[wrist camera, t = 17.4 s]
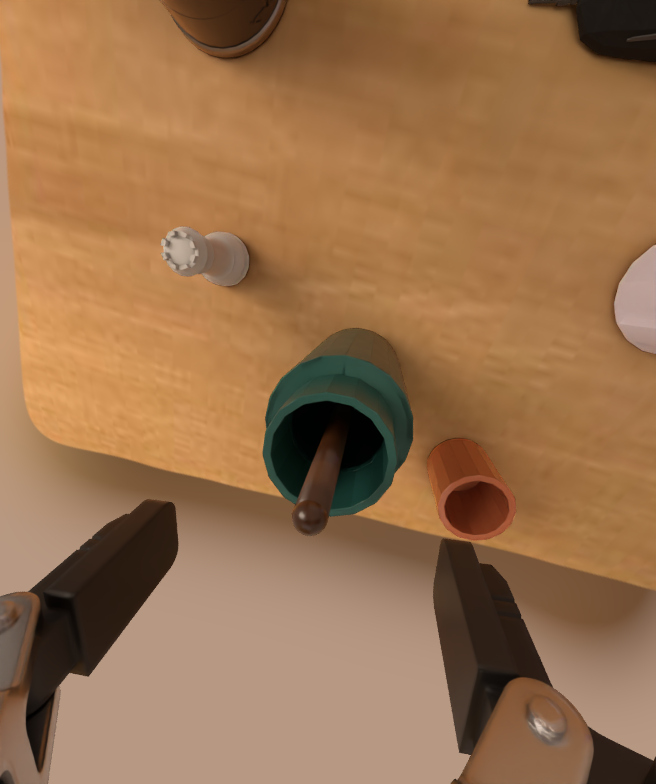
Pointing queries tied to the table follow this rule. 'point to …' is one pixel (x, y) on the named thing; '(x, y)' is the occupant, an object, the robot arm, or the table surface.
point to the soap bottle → (638, 302)
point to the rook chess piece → (206, 255)
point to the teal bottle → (367, 427)
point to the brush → (323, 475)
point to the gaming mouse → (616, 26)
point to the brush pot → (469, 490)
